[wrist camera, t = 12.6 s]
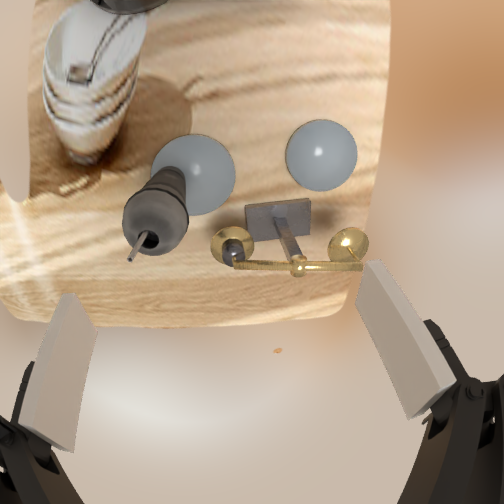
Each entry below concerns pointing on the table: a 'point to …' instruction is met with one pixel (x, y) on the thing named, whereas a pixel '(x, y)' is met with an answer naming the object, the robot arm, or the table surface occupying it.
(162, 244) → the beverage cup
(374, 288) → the robot arm
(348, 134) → the dish light side
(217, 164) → the grey flat disc
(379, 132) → the table surface
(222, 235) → the balance
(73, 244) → the table surface
